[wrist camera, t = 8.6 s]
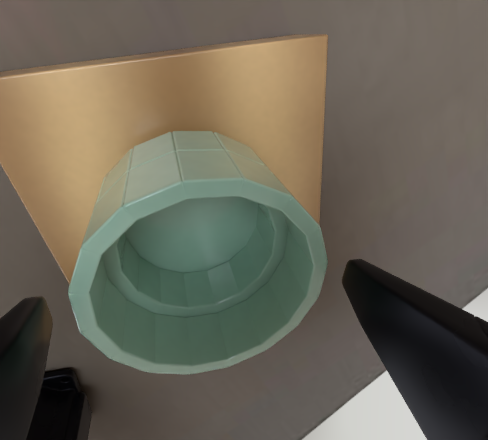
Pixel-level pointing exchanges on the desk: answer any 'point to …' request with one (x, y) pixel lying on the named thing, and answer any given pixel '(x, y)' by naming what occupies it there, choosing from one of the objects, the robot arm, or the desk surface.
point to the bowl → (194, 257)
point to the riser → (158, 121)
